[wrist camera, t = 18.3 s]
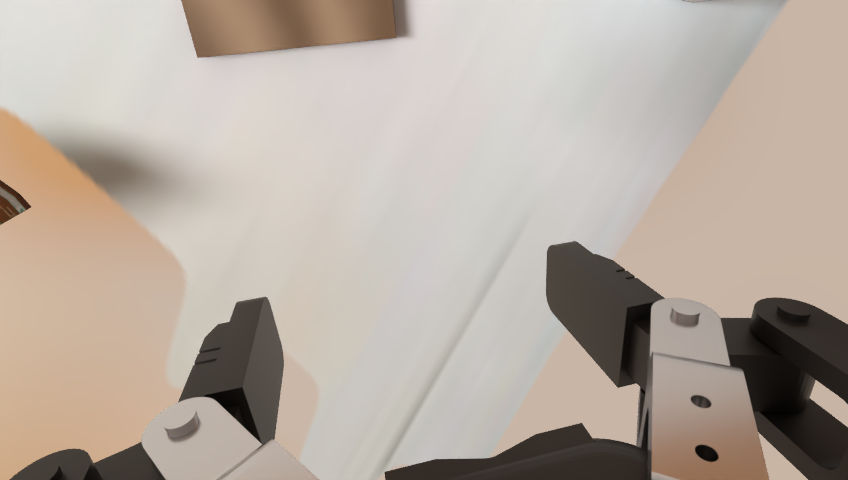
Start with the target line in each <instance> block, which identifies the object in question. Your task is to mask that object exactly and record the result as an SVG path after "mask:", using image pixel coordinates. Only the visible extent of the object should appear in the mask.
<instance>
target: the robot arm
mask: <svg viewBox="0 0 848 480" xmlns="http://www.w3.org/2000/svg"><path fill="white" fill-rule="evenodd" d="M683 1H688V2H698V1H707V0H683ZM546 296H547V301H548V305H549V307H550V309H551V311H552V312H553V314H554V315H555V316H556V317H557V318H558V319H559V321H560V322H561V323H562V324H563V325H564V326H565V327H566V329H567V330H568V331H569V332H570V333H571V334H572V335H573V337H574V338H575V339H576V340H577V341H578V342H579V343H580V345H581V346H582V347H583V348H584V349H585V350H586V352H587V353H588V354H589V355H590V356H591V357H592V358H593V360H594V361H595V362H596V363H597V364H598V365H599V366H600V368H601V369H602V370H603V371H604V372H605V373H606V374H607V376H608V377H609V378H610V379H611V380H612V381H613V383H614V384H615V385H616V386H617V387H618V388H619V387H623V386H627V385H631V384H635V383H637V384H638V385H639V386H640V392H639V403H638V421H637V441H636V442H637V443H636V446H635V445H632V444H628V443H624V442H620V441H615V440H609V439H599V438H596V439H595V438H592V437H591V436H590V434H589V433H588V431H587V430H586V429H585V427H584V426H583V424H582V423H580V424H576V425H572V426H568V427H564V428H560V429H556V430H552V431H548V432H544V433H540V434H536V435H534V436H532V437H530V438H529V439H526V440H525V441H523V442H521V443H519V444H517V445H515V446H514V447H512V448H510V449H508V450H506V451H504V452H502V453H501V454H499V455H497V456H495V457H492V458H485V459H435V460H431V461H427V462H423V463H419V464H415V465H411V466H407V467H403V468H399V469H395V470H391V471H387V472H385V479H386V480H769V476H768V472H767V468H766V464H765V459H764V455H763V451H762V447H761V443H760V439H759V434H758V432H759V433H760V434H761V435H762V436H763V437H764V438H765V439H766V440H767V441H768V442H769V443H770V444H772V445H773V446H774V447H775V448H776V449H777V450H778V451H779V452H780V453H781V454H782V455H783V456H784V457H785V458H786V459H787V460H788V461H790V463H792V464H793V465H794V466H795V467H796V468H797V469H798V470H799V471H800V472H801V473H802V474H803V475H804V476H805V477H806V478H807V479H808V480H848V427H846V426H845V425H844V424H842V423H841V422H840V421H839V420H837V419H836V418H835V417H833V416H832V415H831V414H829V413H828V412H827V411H825V410H824V409H823V408H821V407H820V406H819V405H818V404H816V403H815V402H814V401H812V400H811V399H810V398H809V397H810V395H811V392H812V389H813V386H814V383H815V380H817V381H818V382H820V383H821V384H823V385H824V386H825V387H827V388H828V389H830V390H831V391H832V392H834V393H835V394H837V395H838V396H839V397H841V398H842V399H843V400H844V401H845V402H846V403H847V404H848V324H846V323H844V322H842V321H841V320H839V319H837V318H835V317H833V316H832V315H830V314H828V313H826V312H824V311H823V310H821V309H819V308H817V307H815V306H813V305H810V304H807V303H804V302H801V301H797V300H792V299H786V298H766V299H762V300H760V301H758V302H757V303H756V304H755V306H754V310H753V313H752V318H720V317H719V315H718V314H717V313H716V312H715V311H714V310H713V309H711V308H710V307H708V306H706V305H704V304H702V303H699V302H696V301H693V300H688V299H682V298H667V299H665V298H664V297H662V296H661V295H660V294H658V293H657V292H655V291H654V290H653V289H651V288H650V287H649V286H647V285H646V284H645V283H643V282H642V281H640V280H639V279H638V278H635V277H634V275H632V274H631V273H629V272H628V271H625V269H624V268H623V267H621V266H620V265H618V264H617V263H615V262H614V261H613V260H610V259H608V258H605V257H602V256H600V255H597V254H592V253H591V252H590V251H589V250H587V249H586V248H585V247H583V246H582V245H581V244H579V243H578V242H576V241H573V242H568V243H562V244H557V245H551V246H550V247H549V248H548V251H547V275H546ZM199 352H200V354H198V356H197V358H196V360H195V365H194V366H193V368H192V370H191V372H190V375H189V377H188V380H187V382H186V385H185V387H184V389H183V392H182V394H181V397H180V399H179V402H178V403H176V404H174V405H172V406H170V407H168V408H167V409H165V410H164V411H162V412H161V413H160V414H158V415H157V416H156V417H155V418H154V419H153V420H152V421H151V422H150V423H149V424H148V426H147V427H146V429H145V431H144V433H143V435H142V442H140V443H138V444H136V445H134V446H132V447H130V448H128V449H125V450H123V451H121V452H118V453H116V454H114V455H112V456H109V457H107V458H105V459H102V460H100V461H98V462H96V463H93V461H92V460H91V458H90V456H89V455H88V453H87V452H85V451H84V450H81V449H67V450H62V451H59V452H55V453H52V454H50V455H48V456H45V457H43V458H41V459H39V460H37V461H35V462H33V463H32V464H30V465H28V466H27V467H25V468H24V469H23V470H21V471H20V472H18V473H17V474H16V475H14V476H13V477H12V478H11V479H10V480H319V479H318V478H317V477H316V476H315V475H314V474H312V473H311V472H310V471H309V470H308V469H307V468H306V467H305V466H304V465H302V464H301V463H300V462H299V461H298V460H297V459H296V458H295V457H294V456H293V455H291V454H290V453H289V452H288V451H287V450H286V449H285V448H284V447H282V446H281V445H280V444H279V443H278V442H277V441H275V440H274V438H275V430H276V422H277V415H278V406H279V399H280V390H281V384H282V376H283V367H284V360H283V350H282V345H281V341H280V338H279V334H278V331H277V327H276V324H275V320H274V316H273V313H272V309H271V306H270V303H269V300H268V298H267V297H262V298H256V299H251V300H245V301H240V302H237V303H236V305H235V308H234V311H233V314H232V316H231V319H230V322H227V323H222V324H218V325H217V326H216V327H215V328H214V329H213V330H212V331H211V332H210V333H209V334H208V335H207V336H206V337H205V339H204V341H203V344H202V346H201V348H200V351H199Z"/></svg>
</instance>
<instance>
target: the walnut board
mask: <svg viewBox="0 0 848 480" xmlns="http://www.w3.org/2000/svg"><path fill="white" fill-rule="evenodd" d="M181 1H182V4H183V8H184V12H185V15H186V19H187V22H188V26H189V29H190V33H191V36H192V40H193V43H194V47H195V50H196V54H197V58H199V57H210V56H220V55H230V54H240V53H250V52H260V51H269V50H279V49H289V48H299V47H309V46H319V45H329V44H339V43H349V42H358V41H368V40H378V39H388V38H396V30H395V20H394V11H393V2H392V0H181Z"/></svg>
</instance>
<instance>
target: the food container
mask: <svg viewBox="0 0 848 480" xmlns="http://www.w3.org/2000/svg"><path fill="white" fill-rule="evenodd" d="M30 207H31V206H30V205H29V204H28V203H27V202H26V200H25V199H24V198H23V197H22V196H21V195H20V194H19V193H17V192H16V191H15V190H13V189H12V188H11V187H9V186H8V185H6V184H5V183H4V182H2V181H1V180H0V225H1V224H3V223H4V222H6V221H8V220H10V219H11V218H13V217H15V216H16V215H18V214H20V213H22V212H23V211H25V210H27V209H29V208H30Z"/></svg>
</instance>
